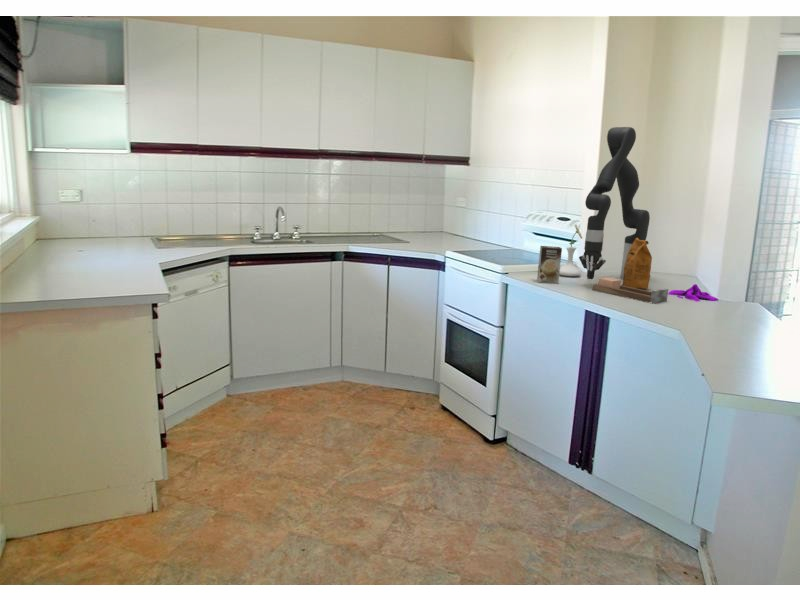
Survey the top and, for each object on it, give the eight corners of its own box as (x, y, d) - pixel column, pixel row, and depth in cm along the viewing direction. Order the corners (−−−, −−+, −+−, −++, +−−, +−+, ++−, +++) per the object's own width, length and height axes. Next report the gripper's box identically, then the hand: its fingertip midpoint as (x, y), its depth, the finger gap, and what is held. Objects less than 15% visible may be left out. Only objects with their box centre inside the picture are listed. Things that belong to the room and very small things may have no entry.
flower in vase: (576, 278, 306) (581, 226, 301) (553, 275, 312) (557, 223, 307) (584, 275, 317) (590, 224, 312) (562, 272, 323) (567, 222, 318)
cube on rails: (605, 287, 287) (606, 276, 286) (666, 301, 264) (668, 289, 263) (592, 289, 281) (593, 278, 280) (653, 303, 259) (655, 291, 257)
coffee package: (640, 285, 296) (646, 237, 292) (650, 290, 284) (657, 241, 279) (619, 284, 296) (624, 236, 292) (628, 290, 284) (634, 240, 279)
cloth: (661, 292, 285) (662, 278, 284) (703, 293, 285) (705, 280, 284) (682, 303, 263) (684, 288, 262) (728, 305, 263) (730, 290, 262)
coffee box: (538, 282, 294) (541, 247, 290) (536, 279, 300) (539, 245, 296) (558, 283, 293) (562, 248, 289) (556, 281, 299) (560, 246, 296)
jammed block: (605, 288, 285) (607, 277, 284) (619, 291, 279) (621, 280, 278) (597, 289, 281) (598, 278, 280) (611, 292, 276) (612, 281, 275)
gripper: (612, 241, 281) (607, 280, 284) (587, 237, 291) (583, 275, 295) (601, 242, 276) (597, 282, 280) (576, 238, 286) (572, 277, 290)
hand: (590, 278), depth 287 cm, fingers closed
